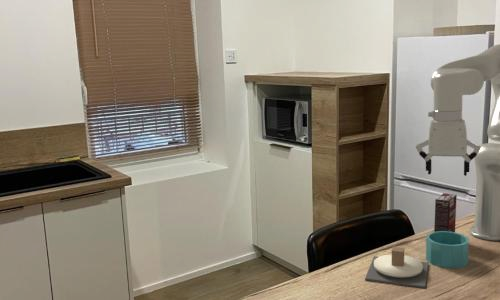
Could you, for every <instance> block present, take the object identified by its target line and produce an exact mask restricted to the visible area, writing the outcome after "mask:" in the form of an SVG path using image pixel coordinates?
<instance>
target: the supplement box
mask: <svg viewBox="0 0 500 300" xmlns="http://www.w3.org/2000/svg"><path fill="white" fill-rule="evenodd" d="M434 203H435V206H434V227H433V228H434V229H433V232H437V231H448V232H455V233H456V220H457V219H456V217H457V194H453V193H444V192H443V193H442V194H441V195H439V196H438V197H437V198H435V201H434Z"/></svg>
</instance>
